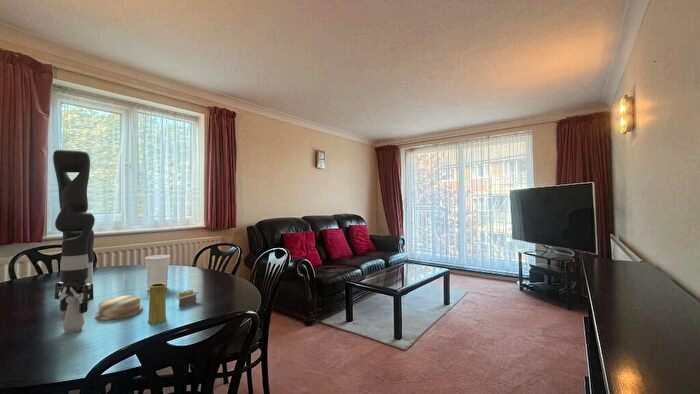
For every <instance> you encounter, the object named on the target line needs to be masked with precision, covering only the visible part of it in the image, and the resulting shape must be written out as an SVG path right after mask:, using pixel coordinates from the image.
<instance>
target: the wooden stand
mask: <svg viewBox="0 0 700 394" xmlns="http://www.w3.org/2000/svg"><path fill="white" fill-rule="evenodd" d="M143 310H144V306H143V305H142V304H141V297H140V296H139V295H133V294H132V295H131V294H130V295H121V296H115V297H111V298H107V299H104V300H102V301H100V302H99V303H98V311H97V312H95V315H94V318H95V319H96V320H99V321H113V320H120V319H121V320H122V319H125V318H128V317H132V316H135V315H137V314H139V313H141V312H142V311H143Z"/></svg>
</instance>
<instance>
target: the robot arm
mask: <svg viewBox="0 0 700 394" xmlns="http://www.w3.org/2000/svg"><path fill="white" fill-rule="evenodd" d="M52 161H53V168H54V172H55V177H56V181H57V182H56V183H57V187H58V188H57V190H58V201H59V203H58V204H59V210H60V211H59V213H58V215H57V216H56V218H55V222H54V227H55V228H56V229H57V231H58V232H60V233H62V243H61V259H60V264H59V265H60V267H59V268H60V271H59V281H60V282H56V283H55V285H54V286H55V287H54V299H55V300H58V302H59V312H62V313H64V311H66V310H67V306H68V303H66V298H67V297H68V296H70V295H72V296H75V298H76V299H78V300H79V302H80V303H79V313H81V314H85V313H87V311H88V309H89V307H88V306H89V302H90V301H93V300H94V283H93V281H94V279H93V276H94V274H93V273H94V267H93V266H94V242H95V233H94V230H93V228H94V226H95V221H96V219H95V216H94V215H93V213H91V212H87V211H88V208H89V201H88V199H89V198H88V192H87V191H88V185H89V179H90V173H91V171H90V170H91V159H90V155H89V152H87V151H86V150H79V149H77V150H73V149H72V150H71V149H57V150H55V151H54V152H53V155H52ZM68 173H71V174H72V173H74V174H75V173H78V174H77V176H75V177H74V178H73V179H71V178H70V176H69V175H68Z"/></svg>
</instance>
